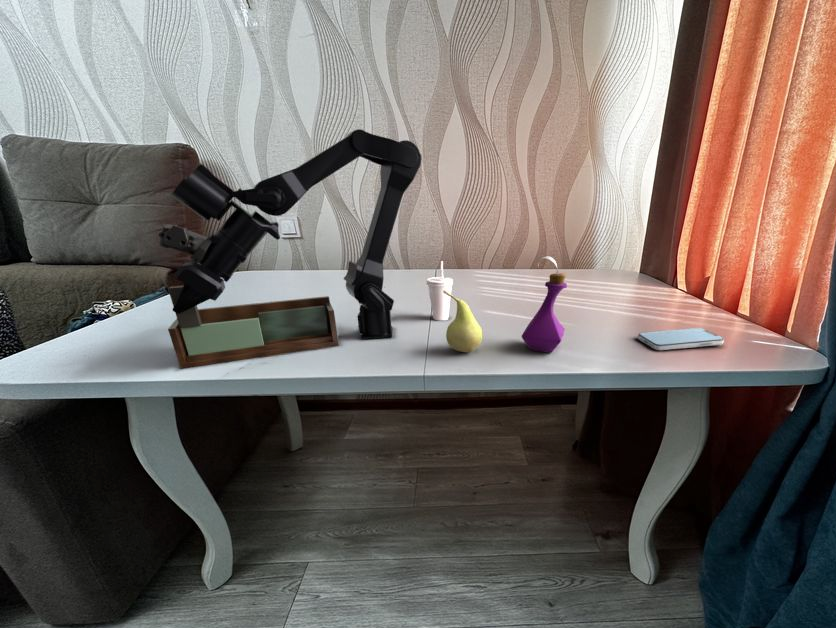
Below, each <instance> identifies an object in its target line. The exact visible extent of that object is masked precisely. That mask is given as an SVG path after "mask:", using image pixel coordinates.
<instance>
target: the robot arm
mask: <svg viewBox="0 0 836 628" xmlns="http://www.w3.org/2000/svg"><path fill="white" fill-rule="evenodd" d="M359 157H360V158H362V159H365V160H367V161H369V162H371V163H373V164H375V165H379V166H380V170H379V171H380V173H379V174H380V189H379V193H378V197H377V200H376V203H375V206H374V207H375V208H374V211H373V214H372V216H371V220H370V224H369V227H368V231H367V234H366V238H365V241H364V245H363V248H362V252H361V255H360V257H358V259H357V261H356V262H354V261H352V260H349V261H348V265H347V272H346V274H345V276H344V277H343V280H344V281H345V288H346V291H347V292H348V294H349V295H350V296H351V297H353V298H354V299H355V300H356V301H357V303H358V304H359V312H358V314H357V325H358V333H359V334H360V335H361V336H360V339H361V340H369V339H370V340H371V339H387V338H393V325H392V316H391V315H392V314H391V311H392V309H393V306H394V303H395V300H394V299H393V298H392V297H391V296H390V295H388V294H387V293H386V292H384V290H383V287H384V260H385V257H386V253H387V250H388V246H389V244H390V240H391V238H392V237H391V236H392V233H393V231H394V227H395V223H396V220H397V216H398V213H399V210H400V207H401V203H402V200H403V197H404V194H405V192H406V191H407V190H408V188H409V187H410V185H411V184H412V183H413V182H414V179H415V178H416V176H417V173H418V171H419V170H420V167H421V165H422V161H423V160H422V159H423V158H422V157H423V156H422V154H421V152H420V149H419V148H418V147H417V145H416V144H415V143H414V142H413V141H410V140H408V139H406V140H400V141H397V140H395V139H391V138H388V137H385V136H380V135H376V134H373V133H370V132H368V131H365V130H364V129H361V128H360V129H359V128H358V129H354V130H353V131H350V132H349V133H347V134H346V136H345V137H343V138H342V139H340V140H339V141H337V142H335V143H334V144H333V145H331V146H329V147H327V148H325V150H323V151H321V152H319V153H318V154H316V155H315V156H313V157H312V158H310V159H308V160H307V161H304V162H303V163H302V164H300V165H298V166H297V167H295V168H293V169H290V170H287V171H284V172H282V173H279V174H276V175H274V176H271V177H268V178H265V179H263V180H260V181H258V182H257V183H256V184H255V185H254V186H253V188H249V189H241V188H238V189H237V190H233V189H232V188H231V187H230V186H228V185H227V184H225V182H223V181H222V180H220V178H218V177H217V176H216V175H214V174H213V172H212V171H211V169H209V168H207V166H205V165H204V164H201V163H200V164H199V165H198V166H197V167H196V168H195V169H194V170H193V171H191V173H190V174H189V175H187V177H184V178H183V179H182V180H181V181H180V182H179V183H178V185H177V186H176V187H175V189H174V190H173V192H171V197H172V198H173V199H175V200H177V201H178V202H179V203H181V204H182V205H184V206H185V207H187V208H188V209H189V210H191V211H192V212H194V213H195V214H197V215H198V216H199V217H201V218H202V219H204V220H205V221H206V222H209V221H210V219H211V218H212V219H213V220H216V221H218V222H220V221H221V220H222V218H223V217H224V216H225V215H226V213H227V212H228V211H229V210H230V209H231V207H233V208H234V210H233V211H232V213H231V214H230V215H229V216H228V217H227V218H226V220H225V221H224V222H223V224H222V225H221V226H219V228H218V229H217V230H216V231H215V232H213V233H212V234H209V236H205V235H202V234H200V233H198V232H194V231H191V230H188V228H187V227H181V226H179V225H178V224H170V223H169V224H168V223H167V224H163V225H162V227H161V231H160V232H159V233H158V236H159V240H158V246H159V247H162V248H165V249H172V250H174V251H175V250H176V251H179V252H182V253H185V254H188V255H191V257H190V259H191V260H192V261H187V262H184V263H183V264H182V265H180V267H179V268H178V269H177V270H176V271H175V272H174V274H173V277H174V278H175V279H176V280H178V281H180V282H182V284H183V285H182V286H183V288H182V290H181V292H180V295H179V297H178V299H177V301H176V303H175V305H174V307H173V306H172V307H173V308H172V312H174V313H175V312H176V313H177V314H180V313H182V312H184V311H186V310H188V309H190V308H192V307H194V306H196V305H197V306H198V305H201V304H202V303H204V302H207V301H209V300H212V301H215V302H216V301H217V299H218V298H219V297H220V296H221V295H222V294H223V292H224V291H225V289H226V284H225V283H227V282H229V280H230V279H231V278H232V276H233V275H234V273H236V271H237V270H238V269H239V268H240V267H241V265H242V264H244V262H245V261H246V260H247V259H248V257H249V256H250V255H251V253H252V252H253V251H254V249H256V248H257V246H258V245H259V244H260V243H261V241H262V240H263V239H264V238H265V237H266V236H267V234H269V235H270V236H271V237H273V238H274V239H275V240H280V239H281V236H280V233H279V228H280V227H279V226H280V224H279V222H277V221H272V222H271V221H270V220H268V219H267V218H266V217H264V216H263V215H262V214H260V213H259V212H258V211H257V210H254V211H253V212H252V213H250V212H248V211H247V210H246V209H245V208H243V207H242V206H241V205H239V204H238V203H237V202H235V201H234V200H232V199H233V198H235V199H236V200H238V201H239V202H240V203H242V204H243V205H247V206H253V207H256V208H257V209H258V210H259V211H260V212H263V213H265V214H266V215H269V216H273V217H279V216H283V215H286V214H287V213H288V211H290V210H291V209H292V208H293V207H294V206H295V205H296V204H297V203H298V202H299V201H300V200H301V199H302V198H303V197H304V195H305V194H306V193H307V192H308V191H309V190H310V189H311V188H312V187H314V186H316V185H317V184H319V183H320V182H322V181H324V180H325V179H327V178H328V177H329V176H332V175H333V174H334V173H337V171H339V170H340V169H342V168H344V167H345V166H347V165H349V164H350V163H352V162H353V161H355V160H356V159H358V158H359ZM176 313H175V314H176Z"/></svg>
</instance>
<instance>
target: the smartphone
mask: <svg viewBox="0 0 836 628" xmlns="http://www.w3.org/2000/svg"><path fill="white" fill-rule="evenodd" d="M637 340H639V341H640V342H642V343H644V344H645V345H647V346H648V347H650V348H651V349H653V350H655V351H668V350H679V349H689V348H690V349H691V348H700V347H701V348H702V347H715V346H721V345H723V344H724V341H725V338H724V337H722V336H721V335H718V334H716V333H714V332H711V331H709V330H707V329H704V328H701V327H691V328H679V329H668V330H657V331H647V332H640V333H637Z"/></svg>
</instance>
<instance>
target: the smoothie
mask: <svg viewBox="0 0 836 628" xmlns="http://www.w3.org/2000/svg"><path fill="white" fill-rule="evenodd" d="M439 265H440V276H435V277H429V278H427V279H426V283H425V284H426V285H427V287H428V294H429V299H430V306H431V312H432V319H433V320H434V321H447V320H449V314H450V305H451V297H450V296H448V295H446V294H444V293H443V291H444V290H446V291H447V292H448V293H449V294H451V295H452V288H453V287H452V286H453V285H454V279H453V278H452V277H448V276H446V277H445V276H444V260H440V264H439Z"/></svg>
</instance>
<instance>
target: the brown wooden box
mask: <svg viewBox="0 0 836 628" xmlns="http://www.w3.org/2000/svg"><path fill="white" fill-rule="evenodd" d="M198 311H199V315H200V318H201V322H202V324H207V323H216V322H225V321H234V320H242V319H251V318H259V323H260V327H261V332H262V337H263V341H264V345H262V346H255V347H248V348H240V349H233V350H226V351H219V352H212V353H204V354H197V355H190V356H189V354H188V351H187V348H186V344H185V341H184V338H183V335H182V331H181V328H180V326H179V323H178V320H177V318H176V319H174V321H173V322H172V324H171V325H170V326H169V327H168V328H167V330H168V335H169V337H170V340H171V343H172V346H173V349H174V352H175V355H176V359H177V362H178V365H179V368H180V370H186V369H193V368H199V367H205V366H206V367H207V366H212V365H220V364H225V363H233V362H240V361H246V360H252V359H253V360H254V359H258V358H266V357H272V356H279V355H285V354H292V353H299V352H306V351H313V350H317V349H319V350H320V349H326V348H332V347H339V345H340V344H339V338H338V337H339V336H338V330H337V323H336V322H337V321H336V315H335V310H334V308H333V306H332V304H331V300H330V296H329V295H325V296H315V297H306V298H297V299H296V298H295V299H285V300H275V301H267V302H265V301H264V302H255V303H245V304H244V303H243V304H235V305H225V306H216V307H206V308H205V307H204V308H198Z"/></svg>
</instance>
